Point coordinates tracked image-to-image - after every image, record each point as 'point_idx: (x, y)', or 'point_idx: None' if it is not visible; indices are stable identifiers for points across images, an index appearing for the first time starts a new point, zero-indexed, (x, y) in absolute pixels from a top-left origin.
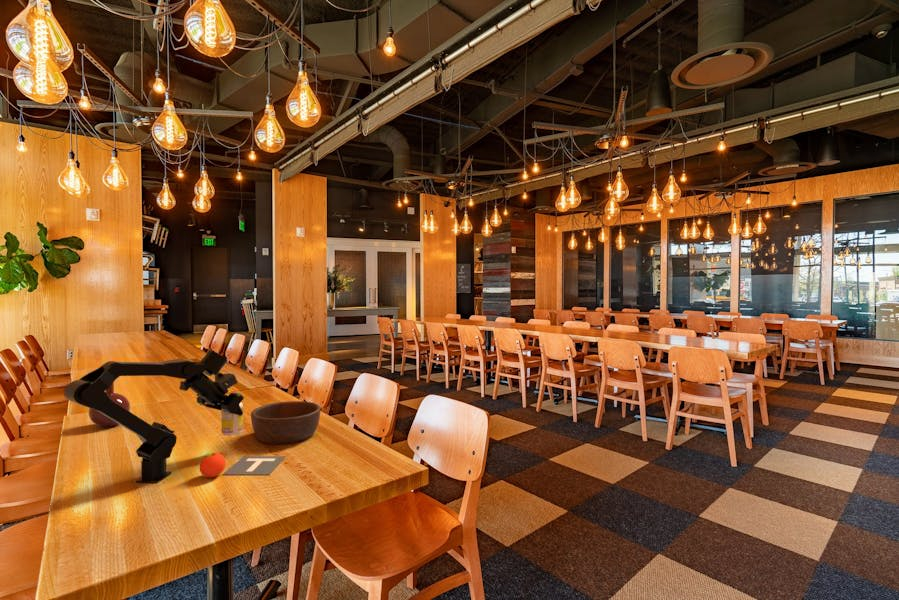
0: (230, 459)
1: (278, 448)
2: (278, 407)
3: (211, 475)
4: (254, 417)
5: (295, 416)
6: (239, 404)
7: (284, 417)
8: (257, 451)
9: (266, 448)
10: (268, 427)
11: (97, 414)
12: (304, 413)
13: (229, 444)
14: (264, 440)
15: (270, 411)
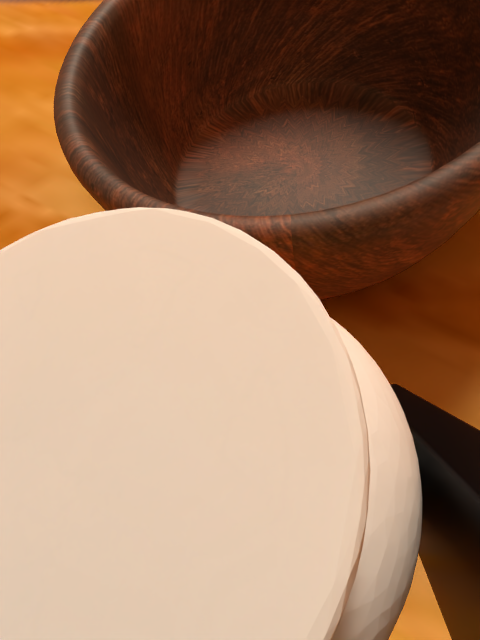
0: (427, 595)
1: (462, 290)
2: (117, 52)
3: None
4: None
5: (208, 55)
6: (377, 390)
7: (168, 93)
8: (415, 391)
9: (406, 332)
10: (418, 244)
11: None
12: (251, 11)
13: None
14: (335, 296)
15: (109, 104)
